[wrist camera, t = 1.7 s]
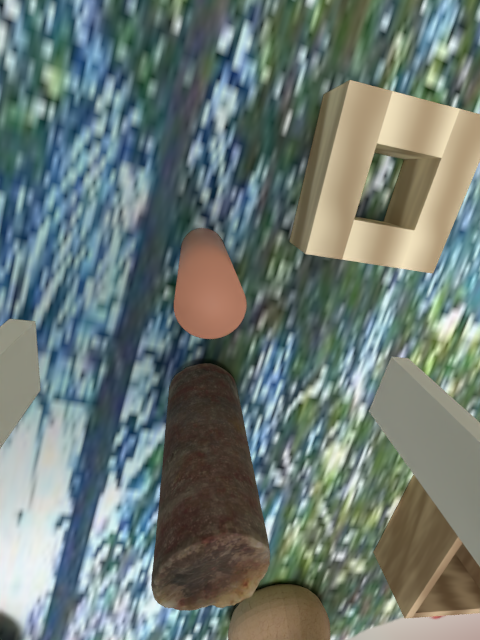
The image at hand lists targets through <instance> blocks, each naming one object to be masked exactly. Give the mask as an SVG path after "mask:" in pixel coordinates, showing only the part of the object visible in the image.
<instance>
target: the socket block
mask: <svg viewBox="0 0 480 640" xmlns="http://www.w3.org/2000/svg"><path fill="white" fill-rule="evenodd" d="M374 153H378V154H382V155H387V156H391V157H396V158H400V159H404V161H403V164H402V167H401V170H400V173H399V176H398V179H397V182H396V185H395V188H394V191H393V194H392V197H391V200H390V203H389V206H388V209H387V212H386V215H385V218H384V221H377V220H371V219H366V218H360V217H355V215H356V212H357V208H358V205H359V202H360V198H361V195H362V192H363V188H364V185H365V182H366V178H367V175H368V172H369V168H370V165H371V162H372V158H373V155H374ZM479 161H480V114H477V113H473V112H469V111H465V110H461V109H458V108H454V107H450V106H446V105H442V104H439V103H435V102H431V101H427V100H424V99H420V98H416V97H412V96H408V95H405V94H401V93H397V92H393V91H390V90H386V89H382V88H378V87H374V86H371V85H367V84H363V83H359V82H355V81H352V80H349V81H347V82H345V83H344V84H342V85H340V86H338V87H336V88H335V89H333V90H331V91H329V92H327V93H325V94H324V95H323V99H322V104H321V108H320V112H319V117H318V121H317V125H316V130H315V134H314V138H313V143H312V147H311V151H310V155H309V160H308V164H307V168H306V173H305V177H304V181H303V186H302V190H301V194H300V199H299V203H298V207H297V212H296V216H295V220H294V224H293V229H292V233H291V237H290V242H291V243H292V244H293V245H295V246H296V247H297V248H299V249H300V250H301V251H302V252H304V253H305V254H309V255H316V256H322V257H329V258H336V259H342V260H349V261H355V262H362V263H368V264H375V265H382V266H388V267H395V268H401V269H408V270H414V271H421V272H428V273H433V272H434V270H435V267H436V265H437V262H438V260H439V258H440V255H441V253H442V250H443V248H444V246H445V243H446V241H447V238H448V236H449V233H450V231H451V229H452V226H453V224H454V221H455V219H456V217H457V214H458V212H459V209H460V207H461V205H462V202H463V200H464V197H465V195H466V193H467V190H468V188H469V185H470V183H471V180H472V178H473V176H474V173H475V171H476V168H477V166H478V164H479Z"/></svg>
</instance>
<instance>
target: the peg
mask: <svg viewBox="0 0 480 640" xmlns="http://www.w3.org/2000/svg"><path fill="white" fill-rule="evenodd" d="M174 312H175V316H176V318H177V321H178V322H179V324H180V325H181V326H182V328H183V329H184V330H186V331H187V332H188V333H190V334H192V335H194V336H196V337H199V338H204V339H215V338H220V337H223V336H225V335H228V334H229V333H231V332H232V331H234V330H235V329H236V328H237V327H238V326H239V325H240V323H241V322H242V320H243V318H244V316H245V312H246V297H245V294H244V292H243V289H242V287H241V284H240V282H239V280H238V277H237V275H236V272H235V270H234V268H233V265H232V263H231V260H230V258H229V255H228V253H227V251H226V248H225V246H224V243H223V241H222V239H221V238H220V236H219V235H218V234H217V233H216V232H214V231H212V230H210V229H206V228H198V229H195V230H193V231H191V232H189V233H188V234H187V235H186V236H185V238H184V240H183V242H182V246H181V253H180V260H179V268H178V276H177V283H176V291H175V298H174Z"/></svg>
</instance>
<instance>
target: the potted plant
mask: <svg viewBox="0 0 480 640" xmlns="http://www.w3.org/2000/svg"><path fill="white" fill-rule="evenodd" d="M228 640H330V623H329V618H328V615H327V613H326V611H325V609H324V607H323V605H322V603H321V601H320V600H319V598H318V597H317V596H316V595H315V594H314V593H312V592H311V591H310V590H308V589H306V588H304V587H301V586H298V585H292V584H278V585H273V586H268V587H265V588H262V589H260V590H257V591H255V592H254V593H253V595H252V596H251V597H250V598H247V599H244V600H243V601H242V602H240V603H239V605H238V606H237V607H236V609H235V610H234V612H233V614H232V618H231V622H230V625H229V632H228Z"/></svg>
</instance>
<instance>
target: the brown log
mask: <svg viewBox="0 0 480 640" xmlns="http://www.w3.org/2000/svg"><path fill="white" fill-rule="evenodd" d="M269 559H270V550H269V544H268V538H267V533H266V528H265V524H264V519H263V515H262V510H261V505H260V501H259V495H258V490H257V485H256V480H255V475H254V470H253V465H252V461H251V456H250V451H249V446H248V441H247V436H246V431H245V426H244V421H243V415H242V410H241V405H240V400H239V396H238V391H237V387H236V383H235V380H234V378H233V377H232V375H231V374H229V373H228V372H227V371H226V370H224V369H223V368H221V367H219V366H216V365H213V364H211V363H209V364H207V363H205V364H198V365H194V366H189V367H186V368H185V369H184V370H182V371H181V372H179V373H178V374H176V375H175V376H174V378H173V380H172V382H171V384H170V387H169V397H168V408H167V419H166V430H165V444H164V454H163V468H162V480H161V486H160V501H159V511H158V520H157V531H156V543H155V551H154V563H153V572H152V584H151V585H152V591H153V595H154V598H155V600H156V601H157V602H158V603H159V604H161V605H162V606H164V607H165V608H166V607H167V608H174V609H177V610H196V609H199V608H203V607H207V606H209V605H214V606H216V607H220V608H223V607H225V606H230V605H235V604H237V603H239V602H242V601H243V600H244V599H247V598H250V597H251V596H252V595H253V593H254V592H255V590H256V588H257V587H258V585H259V582H260V580H261V579H262V578H263V577H264V576H265V574H266V572H267V569H268V566H269V564H270V562H269Z"/></svg>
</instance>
